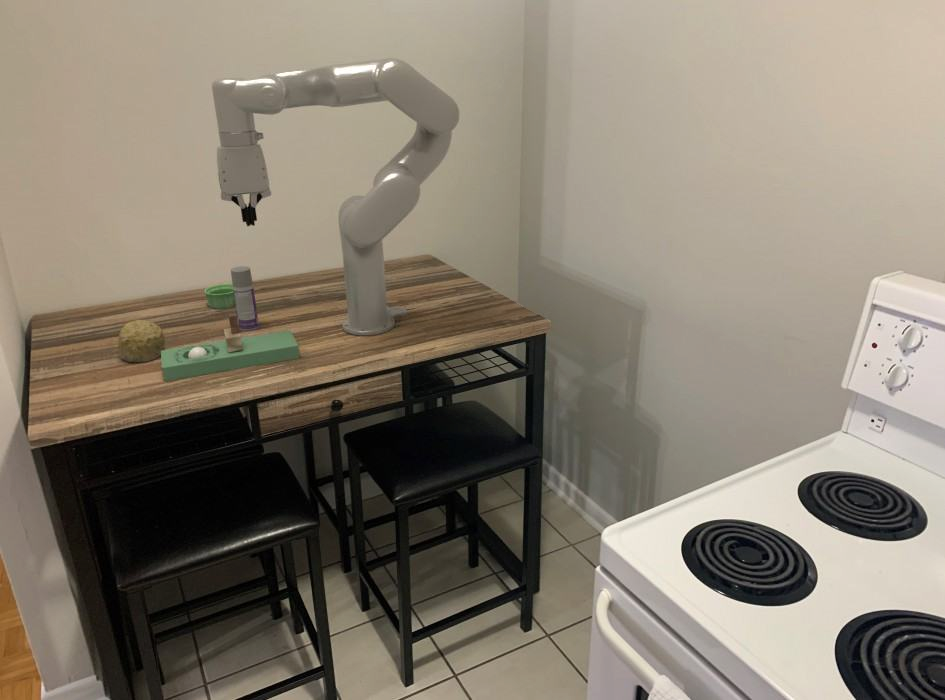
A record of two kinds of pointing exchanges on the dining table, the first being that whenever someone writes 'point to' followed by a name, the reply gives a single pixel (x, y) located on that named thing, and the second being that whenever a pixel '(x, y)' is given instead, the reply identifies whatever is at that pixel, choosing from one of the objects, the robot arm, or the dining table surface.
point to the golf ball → (197, 353)
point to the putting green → (229, 355)
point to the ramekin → (220, 296)
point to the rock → (140, 341)
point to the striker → (233, 334)
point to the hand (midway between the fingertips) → (250, 224)
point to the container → (244, 298)
